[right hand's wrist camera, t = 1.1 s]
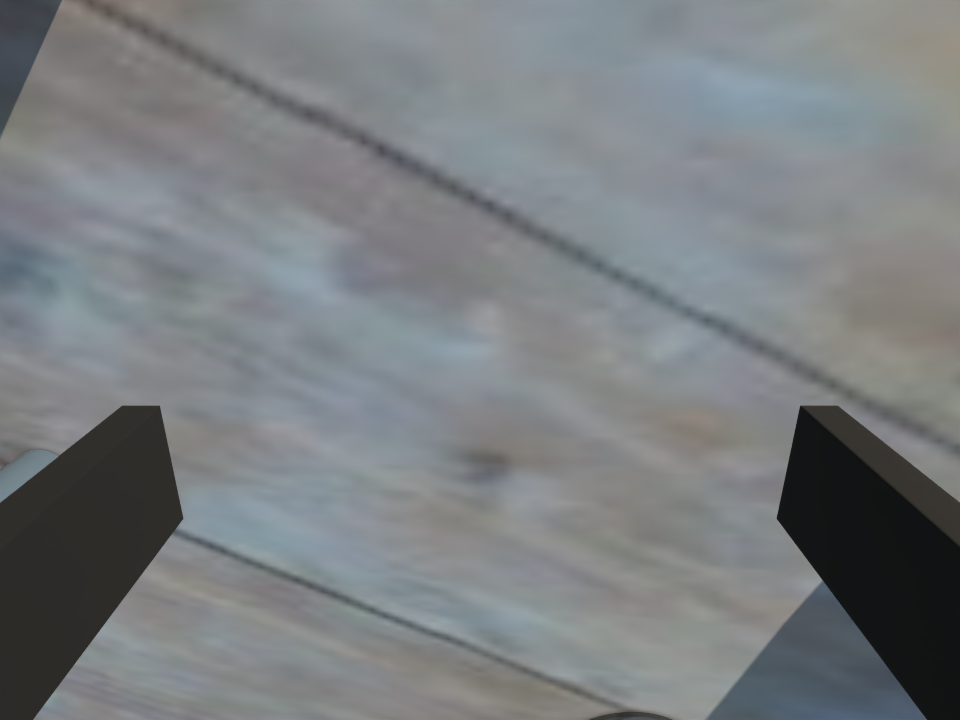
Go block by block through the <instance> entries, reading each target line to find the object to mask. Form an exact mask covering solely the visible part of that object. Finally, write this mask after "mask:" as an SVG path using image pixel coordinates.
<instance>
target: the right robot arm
mask: <svg viewBox="0 0 960 720" xmlns="http://www.w3.org/2000/svg"><path fill="white" fill-rule="evenodd" d="M182 520H183V515H182V510H181V505H180V501H179V496H178V491H177V486H176V481H175V477H174V472H173V467H172V462H171V457H170V453H169V448H168V443H167V438H166V433H165V429H164V424H163V419H162V414H161V410H160V406H121V407H120V408H119V409H118V410H116V411H115V412H114V413H113V414H111V415H110V416H109V417H108V418H106V419H105V420H104V421H103V422H101V423H100V424H99V425H97V426H96V427H95V428H94V429H92V430H91V431H90V432H89V433H87V434H86V435H85V436H84V437H82V438H81V439H80V440H79V441H77V442H76V443H75V444H74V445H72V446H71V447H70V448H69V449H67V450H66V451H65V452H63V453H62V454H61V455H60V456H58V457H57V458H56V459H55V460H53V461H52V462H51V463H50V464H48V465H47V466H46V467H45V468H43V469H42V470H41V471H40V472H38V473H37V474H36V475H34V476H33V477H32V478H31V479H29V480H28V481H27V482H26V483H24V484H23V485H22V486H21V487H19V488H18V489H17V490H16V491H14V492H13V493H12V494H11V495H9V496H8V497H7V498H6V499H4V500H3V501H2V502H0V720H33V719H34V718H35V716H36V715H37V714H38V712H39V711H40V710H41V708H42V707H43V706H44V704H45V703H46V701H47V700H48V699H49V697H50V696H51V695H52V693H53V692H54V691H55V689H56V688H57V687H58V685H59V684H60V683H61V681H62V680H63V679H64V677H65V676H66V675H67V673H68V672H69V671H70V669H71V668H72V667H73V665H74V664H75V663H76V661H77V660H78V659H79V657H80V656H81V655H82V653H83V652H84V651H85V649H86V648H87V647H88V645H89V644H90V643H91V641H92V640H93V639H94V637H95V636H96V635H97V633H98V632H99V631H100V629H101V628H102V627H103V625H104V624H105V623H106V621H107V620H108V619H109V617H110V616H111V615H112V613H113V612H114V611H115V609H116V608H117V607H118V605H119V604H120V603H121V601H122V600H123V599H124V597H125V596H126V595H127V593H128V592H129V591H130V589H131V588H132V587H133V585H134V584H135V582H136V581H137V580H138V578H139V577H140V576H141V574H142V573H143V572H144V570H145V569H146V568H147V566H148V565H149V564H150V562H151V561H152V560H153V558H154V557H155V556H156V554H157V553H158V552H159V550H160V549H161V548H162V546H163V545H164V544H165V542H166V541H167V540H168V538H169V537H170V536H171V534H172V533H173V532H174V530H175V529H176V528H177V526H178V525H179V524H180V522H181V521H182ZM777 520H778V521H779V522H780V524H781V525H782V526H783V528H784V529H785V530H786V532H787V533H788V534H789V536H790V537H791V538H792V540H793V541H794V542H795V544H796V545H797V546H798V548H799V549H800V550H801V552H802V553H803V554H804V556H805V557H806V558H807V560H808V561H809V562H810V564H811V565H812V566H813V568H814V569H815V570H816V572H817V573H818V574H819V576H820V577H821V578H822V580H823V581H824V582H825V584H826V585H827V587H828V588H829V589H830V591H831V592H832V593H833V595H834V596H835V597H836V599H837V600H838V601H839V603H840V604H841V605H842V607H843V608H844V609H845V611H846V612H847V613H848V615H849V616H850V617H851V619H852V620H853V621H854V623H855V624H856V625H857V627H858V628H859V629H860V631H861V632H862V633H863V635H864V636H865V637H866V639H867V640H868V641H869V643H870V644H871V645H872V647H873V648H874V649H875V651H876V652H877V653H878V655H879V656H880V657H881V659H882V660H883V661H884V663H885V664H886V665H887V667H888V668H889V669H890V671H891V672H892V673H893V675H894V676H895V677H896V679H897V680H898V681H899V683H900V684H901V685H902V687H903V688H904V689H905V691H906V692H907V693H908V695H909V696H910V697H911V699H912V700H913V701H914V703H915V704H916V706H917V707H918V708H919V710H920V711H921V712H922V714H923V715H924V716H925V718H926V719H927V720H960V502H958V501H957V500H956V499H954V498H953V497H952V496H951V495H949V494H948V493H947V492H946V491H944V490H943V489H942V488H941V487H939V486H938V485H937V484H936V483H934V482H933V481H932V480H931V479H929V478H928V477H927V476H926V475H924V474H923V473H922V472H920V471H919V470H918V469H917V468H915V467H914V466H913V465H912V464H910V463H909V462H908V461H907V460H905V459H904V458H903V457H902V456H900V455H899V454H898V453H897V452H895V451H894V450H893V449H891V448H890V447H889V446H888V445H886V444H885V443H884V442H883V441H881V440H880V439H879V438H878V437H876V436H875V435H874V434H873V433H871V432H870V431H869V430H868V429H866V428H865V427H864V426H863V425H861V424H860V423H859V422H857V421H856V420H855V419H854V418H852V417H851V416H850V415H849V414H847V413H846V412H845V411H844V410H842V409H841V408H840V407H839V406H800V410H799V414H798V419H797V424H796V429H795V433H794V438H793V443H792V448H791V453H790V457H789V462H788V467H787V472H786V477H785V481H784V486H783V491H782V496H781V501H780V505H779V510H778V515H777ZM590 720H672V719H669V718H666V717H663V716H659V715H655V714H650V713H641V712H623V713H614V714H608V715H604V716H600V717H596V718H593V719H590Z"/></svg>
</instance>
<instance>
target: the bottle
mask: <svg viewBox="0 0 960 720" xmlns="http://www.w3.org/2000/svg"><path fill="white" fill-rule="evenodd" d="M57 457H58V455H56V454H54V453H52V452H49V451H46V450H41V449H34V450H29V451H26V452H24V453H22V454H21V455H19V456H18V457H17V458H15V459H14V460H12V461H11V462H10V463H8V464H7V465H6V466H4V467H3V468H1V469H0V502H2V501H3V500H4V499H6V498H7V497H8V496H9V495H11V494H12V493H13V492H14V491H16V490H17V489H18V488H19V487H21V486H22V485H23V484H24V483H26V482H27V481H28V480H29V479H31V478H32V477H33V476H34V475H36V474H37V473H38V472H40V471H41V470H42V469H43V468H45V467H46V466H47V465H48V464H50V463H51V462H52V461H53V460H55V459H56V458H57Z"/></svg>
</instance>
